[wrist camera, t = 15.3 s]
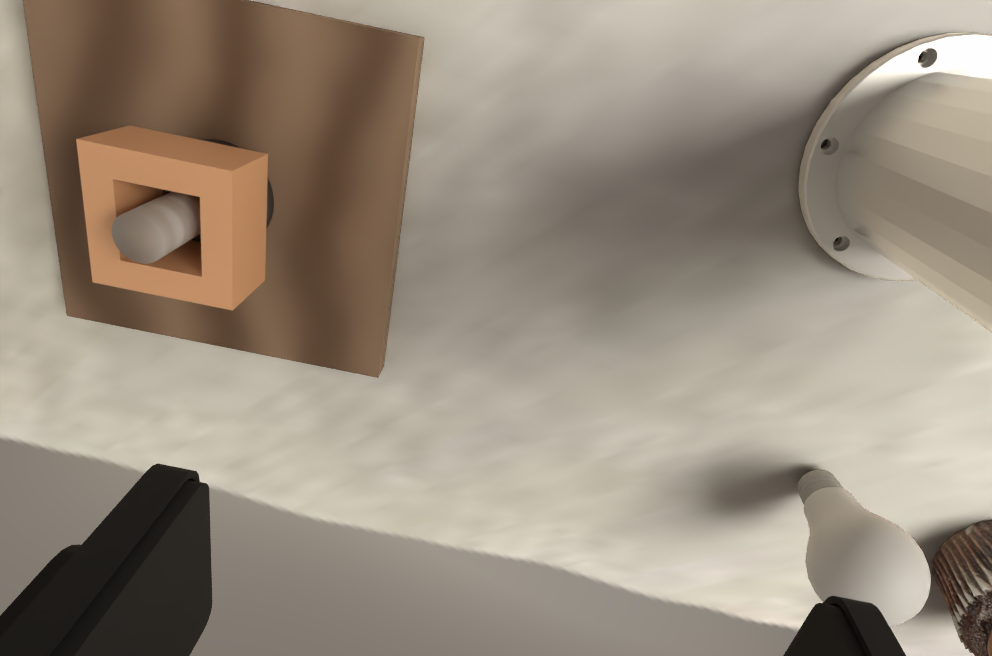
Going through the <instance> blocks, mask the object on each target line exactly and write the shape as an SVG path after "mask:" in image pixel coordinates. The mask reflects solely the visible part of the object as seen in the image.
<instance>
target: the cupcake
mask: <svg viewBox="0 0 992 656" xmlns="http://www.w3.org/2000/svg"><path fill="white" fill-rule="evenodd" d="M932 573H933V576H934V578H935V580H936V582H937V584H938V586H939V588H940V591H941V593H942V595H943V597H944V599H945V602H946V604H947V606H948V609H949V611H950V613H951V615H952V618H953V622H954V625H955V628H956V631H957V633H958V636H959V638H960V641H961V642H963V643H964V646H965V649H969V651H970V653H973V654H974V655H975V656H992V520H987V521H982V522H979V523H976V524H973V525H970V526H969V527H967V528H965V529H963V530H962V531H959V532H957V533H955V534H954V535H952V536H951V537H950V538H949V539H948V540H946V541H945V542H944V543H943V545H942V546H941V547H940V551H939V552H938V553H936V556H935V558H934V559H933V572H932Z"/></svg>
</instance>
